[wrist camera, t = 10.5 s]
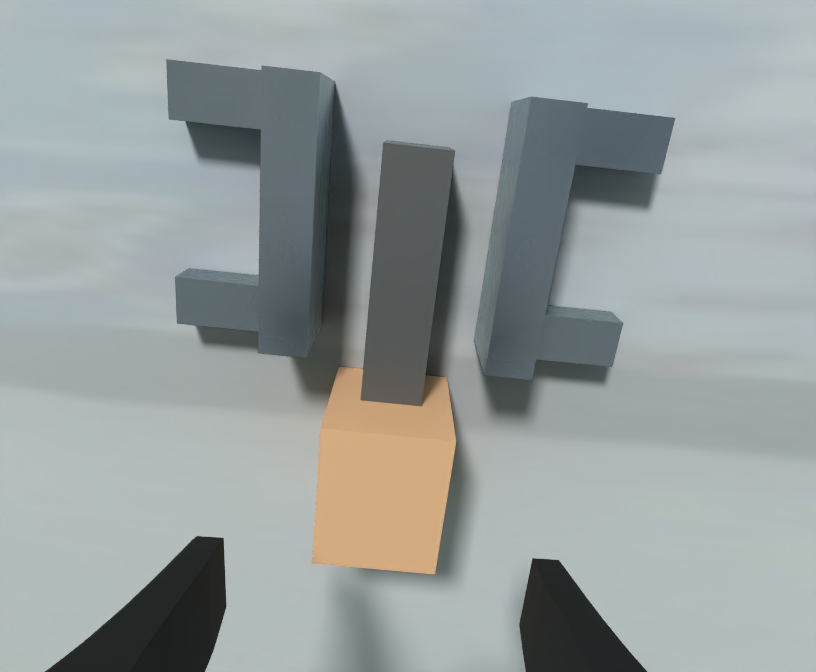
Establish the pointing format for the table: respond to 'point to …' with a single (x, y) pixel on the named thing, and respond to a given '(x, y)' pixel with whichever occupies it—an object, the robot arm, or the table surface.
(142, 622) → the robot arm
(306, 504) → the table surface
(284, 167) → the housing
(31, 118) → the table surface
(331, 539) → the plug
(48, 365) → the table surface
